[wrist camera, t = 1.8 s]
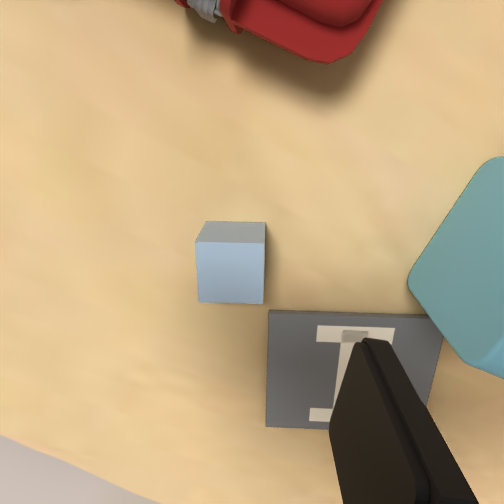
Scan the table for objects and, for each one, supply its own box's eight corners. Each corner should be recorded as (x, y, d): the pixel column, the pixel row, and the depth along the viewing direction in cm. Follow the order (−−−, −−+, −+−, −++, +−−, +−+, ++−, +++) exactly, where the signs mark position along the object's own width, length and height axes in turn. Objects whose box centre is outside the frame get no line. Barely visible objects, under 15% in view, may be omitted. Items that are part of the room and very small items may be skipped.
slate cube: (265, 221, 30) (264, 243, 26) (264, 275, 32) (263, 304, 28) (206, 220, 31) (194, 241, 26) (208, 273, 32) (198, 302, 28)
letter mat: (444, 315, 33) (448, 319, 32) (417, 428, 38) (419, 433, 38) (269, 310, 33) (268, 313, 33) (265, 421, 39) (265, 426, 38)
